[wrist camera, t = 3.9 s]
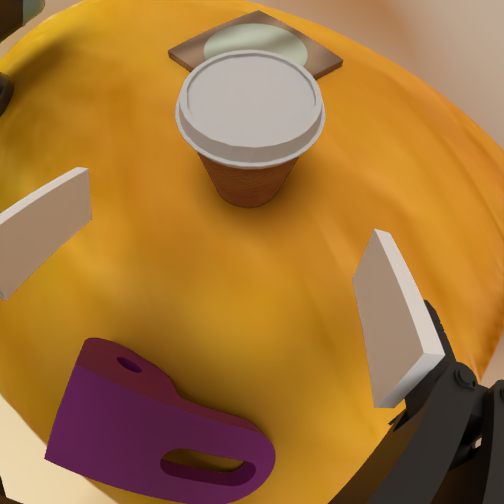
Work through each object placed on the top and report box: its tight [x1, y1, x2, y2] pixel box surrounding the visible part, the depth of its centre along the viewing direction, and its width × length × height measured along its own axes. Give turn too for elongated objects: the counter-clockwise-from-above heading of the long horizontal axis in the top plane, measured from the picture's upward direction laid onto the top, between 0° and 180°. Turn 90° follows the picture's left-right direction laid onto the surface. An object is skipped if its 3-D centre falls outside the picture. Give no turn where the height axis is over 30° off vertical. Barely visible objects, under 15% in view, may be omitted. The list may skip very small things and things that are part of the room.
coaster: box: [168, 10, 343, 80], centre depth 30 cm, size 16×16×1 cm
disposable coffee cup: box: [175, 50, 325, 208], centre depth 21 cm, size 10×10×12 cm
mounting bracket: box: [44, 338, 275, 504], centre depth 20 cm, size 9×8×18 cm
